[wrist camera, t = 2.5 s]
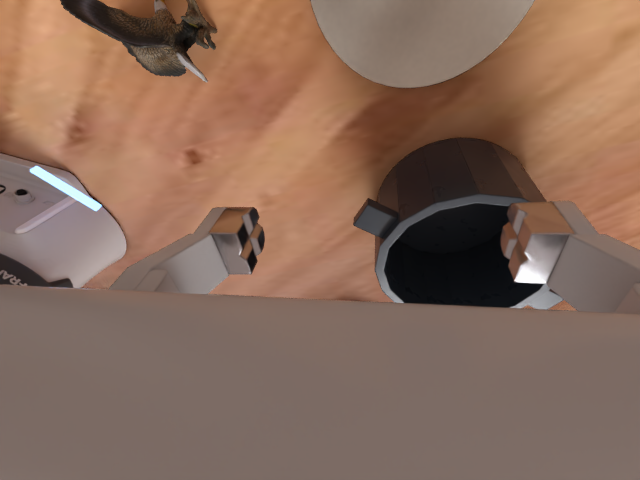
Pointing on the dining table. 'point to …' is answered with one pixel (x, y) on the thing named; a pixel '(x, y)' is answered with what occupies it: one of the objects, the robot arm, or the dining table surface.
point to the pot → (451, 227)
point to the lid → (416, 36)
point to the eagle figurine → (150, 34)
